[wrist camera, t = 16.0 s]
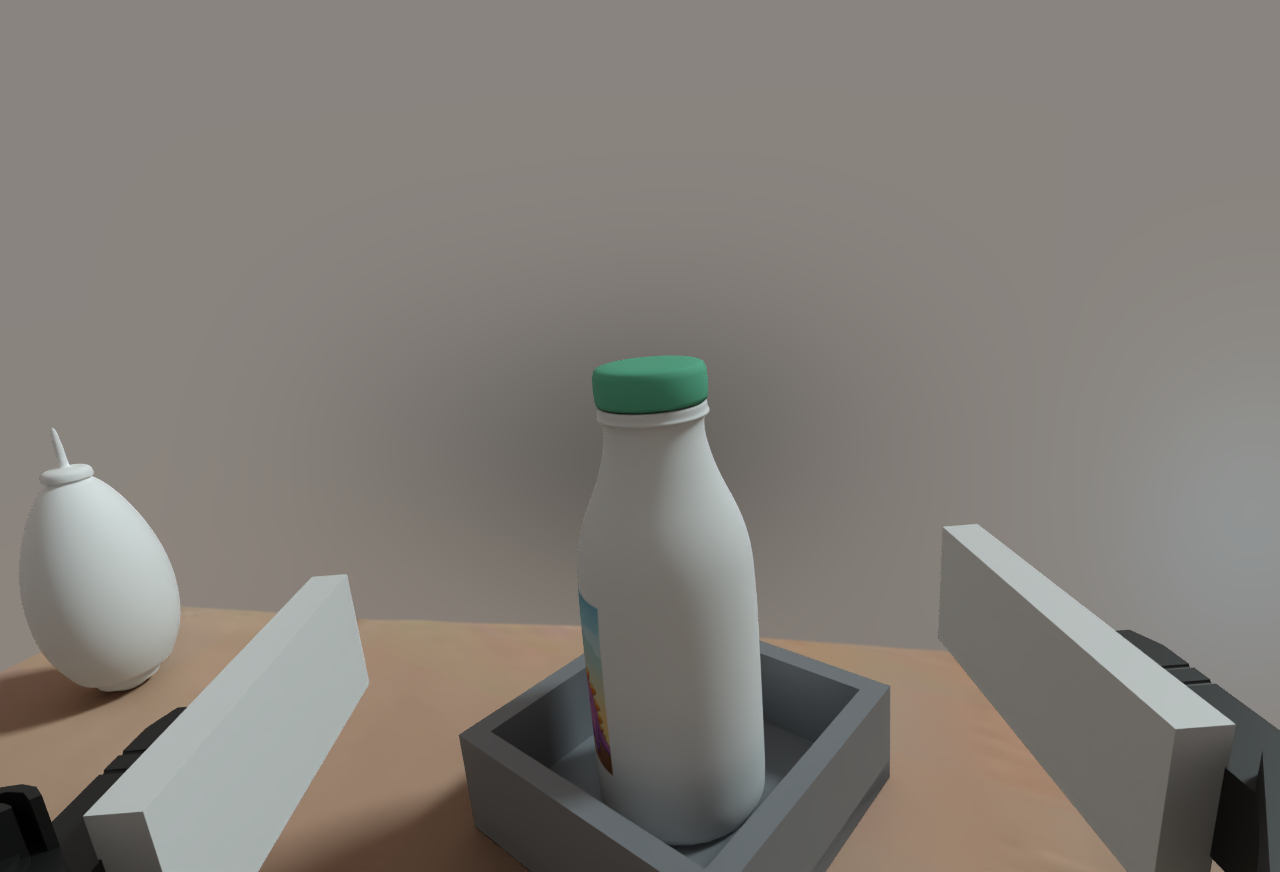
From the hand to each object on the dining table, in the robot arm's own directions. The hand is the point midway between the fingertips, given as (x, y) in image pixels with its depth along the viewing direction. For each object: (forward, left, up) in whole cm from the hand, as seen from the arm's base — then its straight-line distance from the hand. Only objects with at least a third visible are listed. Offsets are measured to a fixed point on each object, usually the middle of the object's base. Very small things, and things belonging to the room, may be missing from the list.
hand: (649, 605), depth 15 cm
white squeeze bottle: (-46, -4, -18) cm, 49 cm away
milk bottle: (-9, +10, -17) cm, 22 cm away
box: (-9, +10, -18) cm, 22 cm away
